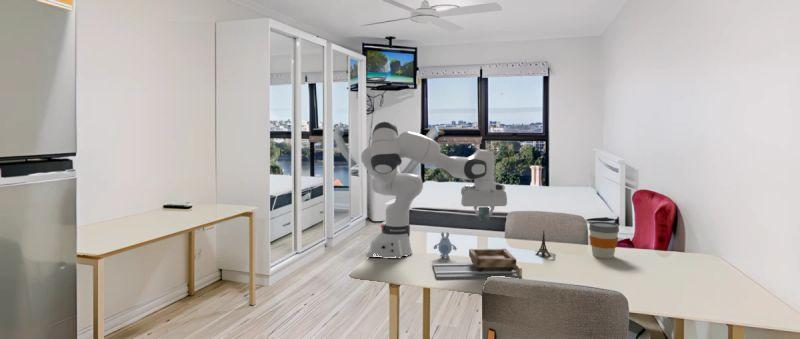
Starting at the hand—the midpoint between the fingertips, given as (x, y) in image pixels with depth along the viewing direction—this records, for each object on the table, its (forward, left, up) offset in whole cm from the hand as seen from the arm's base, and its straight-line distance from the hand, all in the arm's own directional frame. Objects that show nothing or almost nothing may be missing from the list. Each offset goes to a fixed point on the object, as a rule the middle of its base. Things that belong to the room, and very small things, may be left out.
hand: (483, 216), depth 194 cm
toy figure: (-17, +4, -20) cm, 27 cm away
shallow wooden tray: (0, -16, -18) cm, 25 cm away
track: (-7, -16, -20) cm, 27 cm away
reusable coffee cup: (+57, +4, -20) cm, 61 cm away
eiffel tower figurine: (+30, +5, -21) cm, 37 cm away
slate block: (0, 0, -2) cm, 2 cm away
